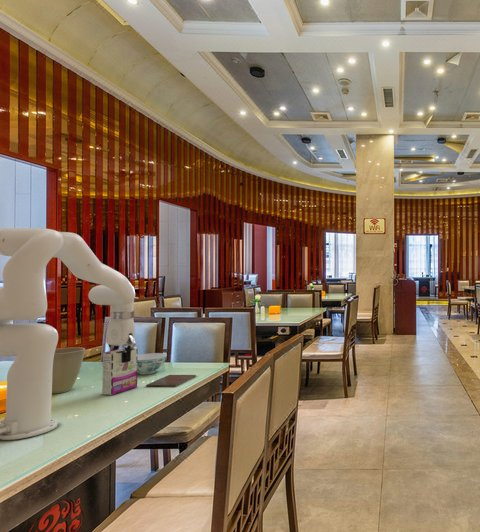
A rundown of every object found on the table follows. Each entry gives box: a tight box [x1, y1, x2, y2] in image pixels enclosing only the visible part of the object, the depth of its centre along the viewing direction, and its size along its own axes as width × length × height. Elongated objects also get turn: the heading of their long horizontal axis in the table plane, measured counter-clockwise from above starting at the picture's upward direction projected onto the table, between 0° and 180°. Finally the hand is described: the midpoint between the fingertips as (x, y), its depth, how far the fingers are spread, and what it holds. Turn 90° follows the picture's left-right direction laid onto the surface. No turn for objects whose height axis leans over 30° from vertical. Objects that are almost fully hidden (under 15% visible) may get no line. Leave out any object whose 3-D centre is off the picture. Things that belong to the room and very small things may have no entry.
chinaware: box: [137, 352, 168, 376], centre depth 176 cm, size 15×15×8 cm
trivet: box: [145, 374, 197, 388], centre depth 162 cm, size 16×12×1 cm
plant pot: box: [52, 347, 86, 395], centre depth 147 cm, size 15×15×16 cm
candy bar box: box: [101, 346, 139, 396], centre depth 148 cm, size 11×5×16 cm, turn 168°
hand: (120, 361), depth 148 cm, fingers closed on candy bar box, 5 cm apart
